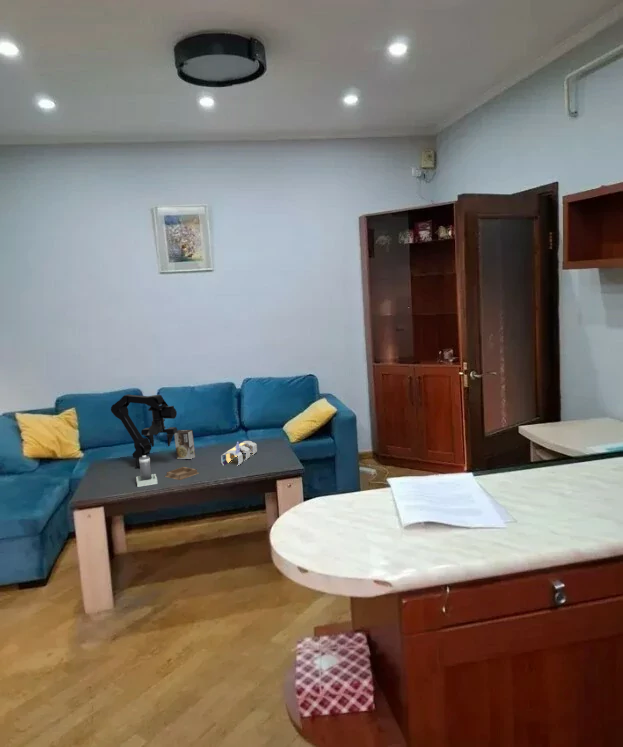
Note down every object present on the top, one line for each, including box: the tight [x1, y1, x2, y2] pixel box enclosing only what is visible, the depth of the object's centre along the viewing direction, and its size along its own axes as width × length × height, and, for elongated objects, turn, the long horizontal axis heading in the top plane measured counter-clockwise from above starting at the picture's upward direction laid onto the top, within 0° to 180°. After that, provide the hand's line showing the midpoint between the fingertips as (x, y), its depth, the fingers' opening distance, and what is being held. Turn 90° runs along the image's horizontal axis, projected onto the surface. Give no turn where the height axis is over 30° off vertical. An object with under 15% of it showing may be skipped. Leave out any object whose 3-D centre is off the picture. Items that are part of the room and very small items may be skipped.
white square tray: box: [135, 473, 158, 488], centre depth 298 cm, size 10×10×3 cm
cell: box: [139, 455, 152, 481], centre depth 297 cm, size 5×5×14 cm
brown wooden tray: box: [164, 466, 200, 481], centre depth 308 cm, size 13×13×2 cm
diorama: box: [220, 440, 258, 467], centre depth 330 cm, size 25×10×13 cm, turn 163°
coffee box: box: [173, 429, 196, 460], centre depth 340 cm, size 9×6×16 cm
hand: (160, 446), depth 323 cm, fingers open, 9 cm apart
